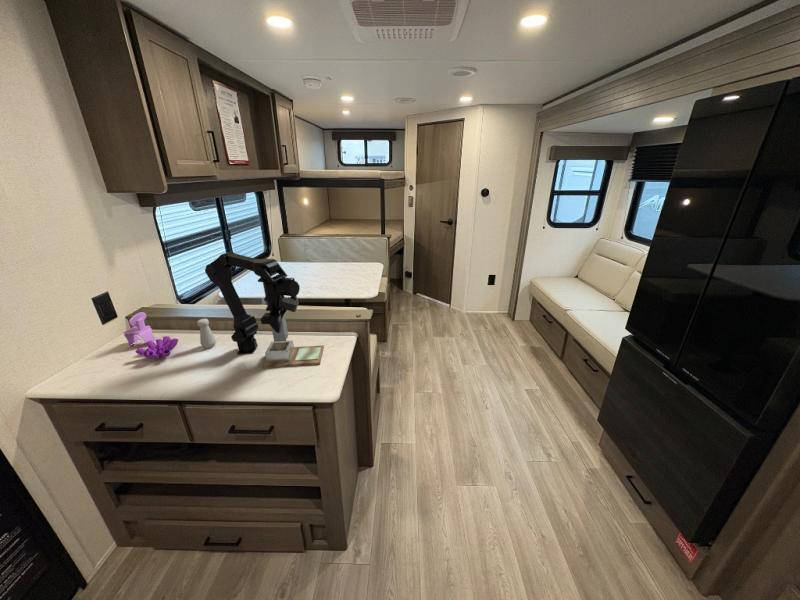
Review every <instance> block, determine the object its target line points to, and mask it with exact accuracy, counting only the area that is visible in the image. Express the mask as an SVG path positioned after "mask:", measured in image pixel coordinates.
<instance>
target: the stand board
mask: <svg viewBox="0 0 800 600" xmlns="http://www.w3.org/2000/svg"><path fill="white" fill-rule="evenodd" d="M323 349H325V345H309V346H307V345H306V346H294V352H293V354H292V357H291V359H290V361H287V362H270V363H267V361H266V359H264V363H263V364H262V369H266V368H267V369H268V368H269V369H270V368H271V369H273V368H286V367H287V368H288V367H299V366H300V367H301V366H303V367H304V366H317V365H318V366H320V365H321V364H322V363H321V362H322V357H323V354H324V353H323V352H324V350H323Z"/></svg>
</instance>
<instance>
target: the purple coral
mask: <svg viewBox="0 0 800 600" xmlns="http://www.w3.org/2000/svg"><path fill="white" fill-rule="evenodd" d="M178 343H179V338H171V336H170V335H169V336H168V335H167V336H165V335H164V336H163V337H162V338H159V339H157V340H156V342H155V343H154V342H153V341H151V340H150V341H148V342H146V344H145V346H146V345H147V347H146V348H143V347H138V348H137V349H136V350H135V351H134V352H135V353H136V354H138V355H140V356H142V357H145V358H146V359H158V358H166V357H169V356H170V355H171V351H172V350H173V349H175V347H176V346H177V345H178Z"/></svg>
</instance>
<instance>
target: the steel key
mask: <svg viewBox="0 0 800 600" xmlns="http://www.w3.org/2000/svg"><path fill="white" fill-rule="evenodd" d="M281 317H283V318H282V320H281V321H280V332H279V333H276V331H275V330H274V329H273V328H272V327H271V331H272V336H273V341H274V342H280V341H288V340H287V339H288V338H289V332H288V326H287V325H288V324H287V321H286V314H285V313H284V314H281Z"/></svg>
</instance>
